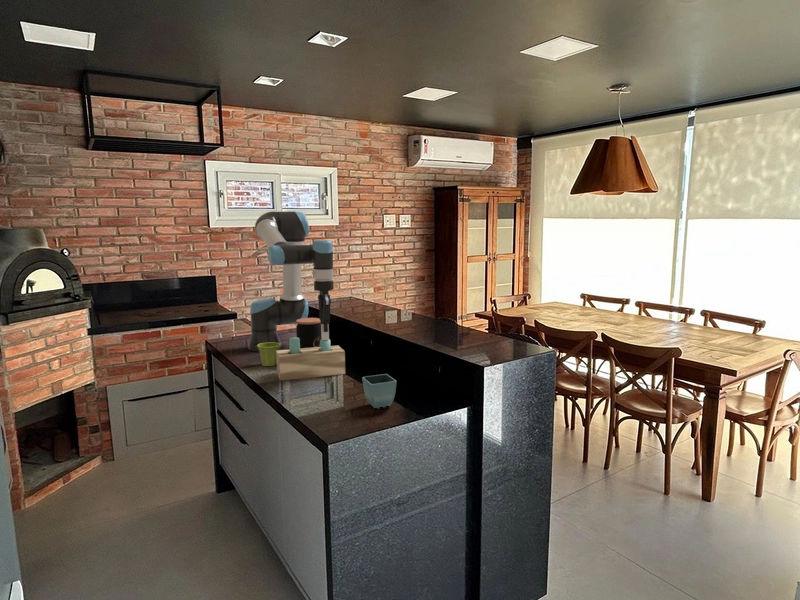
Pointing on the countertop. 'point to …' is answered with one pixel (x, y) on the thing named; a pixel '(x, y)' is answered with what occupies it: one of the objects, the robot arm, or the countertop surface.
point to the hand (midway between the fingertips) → (325, 339)
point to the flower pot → (379, 390)
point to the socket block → (310, 363)
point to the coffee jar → (309, 332)
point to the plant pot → (268, 353)
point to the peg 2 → (325, 345)
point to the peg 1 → (294, 345)
